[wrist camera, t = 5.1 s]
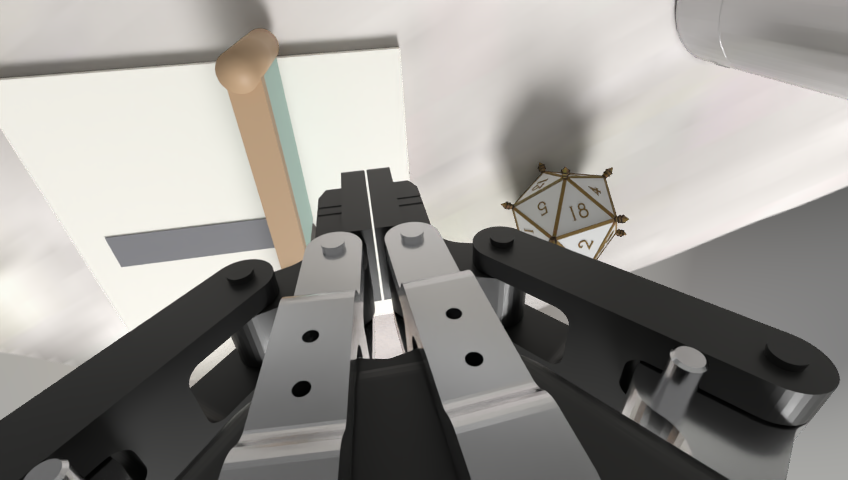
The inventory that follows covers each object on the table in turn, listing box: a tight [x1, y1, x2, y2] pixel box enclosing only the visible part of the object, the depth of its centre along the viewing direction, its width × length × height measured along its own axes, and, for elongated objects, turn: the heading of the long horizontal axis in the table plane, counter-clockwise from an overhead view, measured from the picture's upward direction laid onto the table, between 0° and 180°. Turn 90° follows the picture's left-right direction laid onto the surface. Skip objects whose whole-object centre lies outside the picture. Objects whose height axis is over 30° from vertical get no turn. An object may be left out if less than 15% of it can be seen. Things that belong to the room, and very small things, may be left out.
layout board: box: [0, 47, 410, 332], centre depth 31 cm, size 24×24×1 cm
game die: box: [501, 162, 629, 260], centre depth 31 cm, size 9×8×10 cm
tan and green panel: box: [215, 28, 313, 269], centre depth 24 cm, size 13×2×7 cm, turn 3°
